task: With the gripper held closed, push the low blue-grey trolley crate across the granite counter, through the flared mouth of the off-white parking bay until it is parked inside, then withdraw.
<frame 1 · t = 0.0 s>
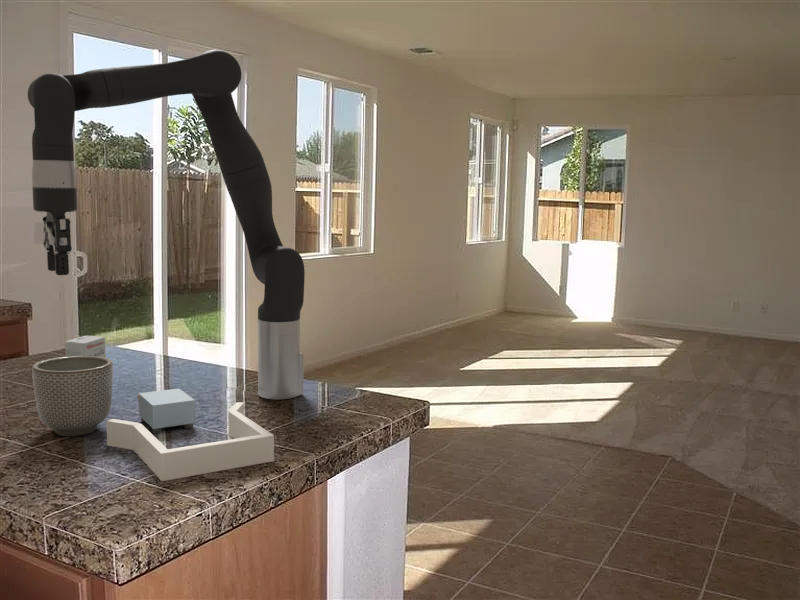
hand: (58, 272, 149), 29 cm above the table, fingers open, 8 cm apart
trolley: (167, 424, 154), on the table
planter: (75, 431, 149), on the table
ink box: (87, 391, 178), on the table
bay: (200, 453, 138), on the table
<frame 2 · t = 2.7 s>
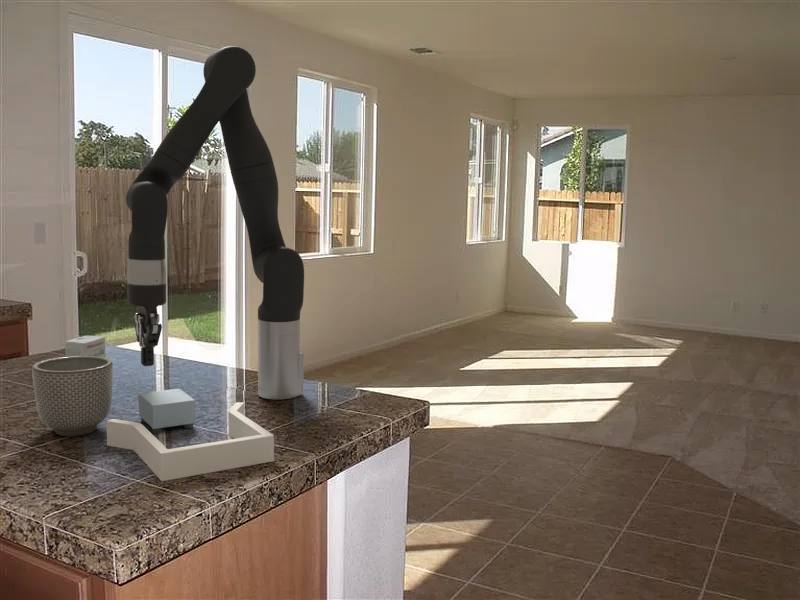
hand: (147, 365, 163), 9 cm above the table, fingers closed
nothing on the table moved.
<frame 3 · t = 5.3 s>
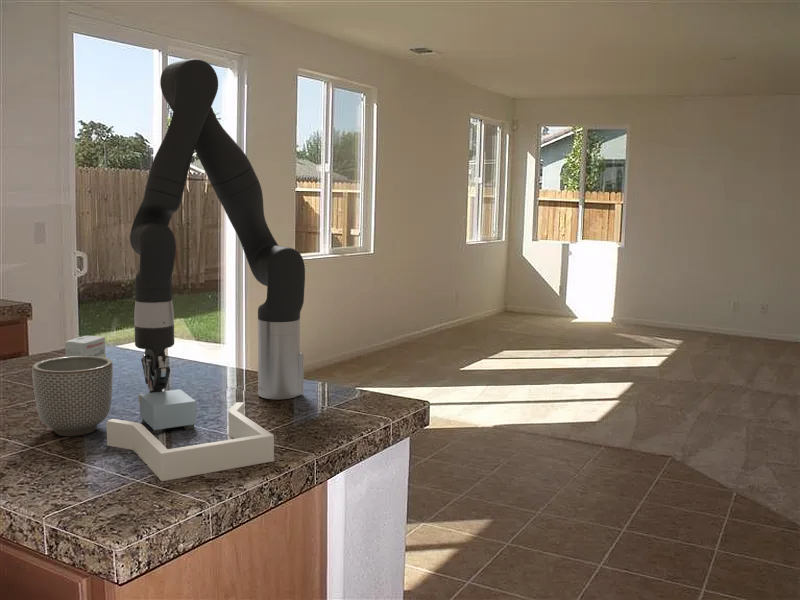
hand: (156, 407, 160), 2 cm above the table, fingers closed
trolley: (168, 425, 154), on the table, touching gripper
everything else where it was.
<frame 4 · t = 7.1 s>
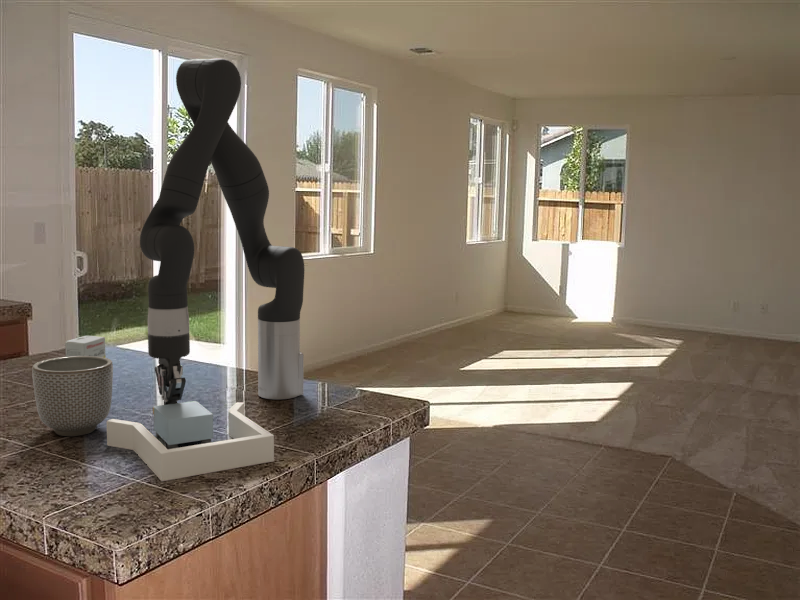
hand: (170, 419, 152), 2 cm above the table, fingers closed
trolley: (183, 439, 145), on the table, touching gripper
everything else where it was.
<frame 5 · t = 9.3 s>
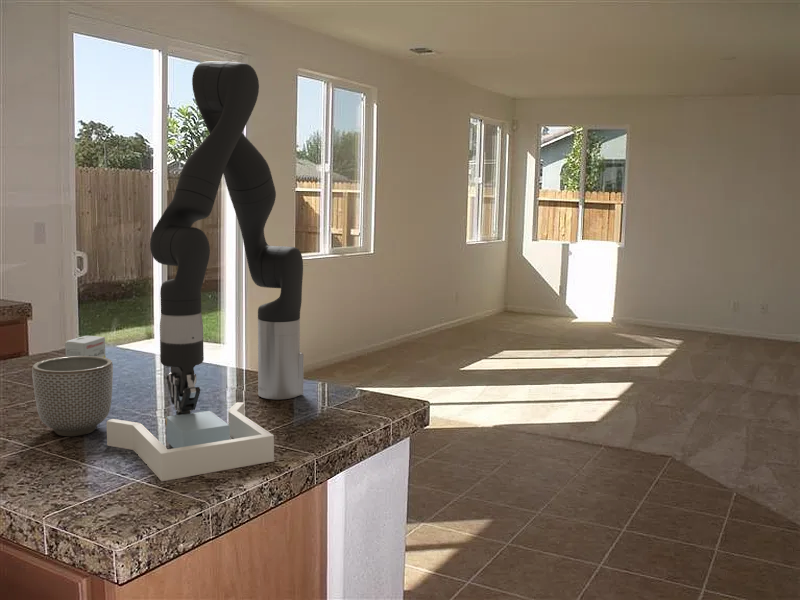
hand: (183, 430, 145), 2 cm above the table, fingers closed
trolley: (197, 451, 139), on the table, touching gripper
everything else where it was.
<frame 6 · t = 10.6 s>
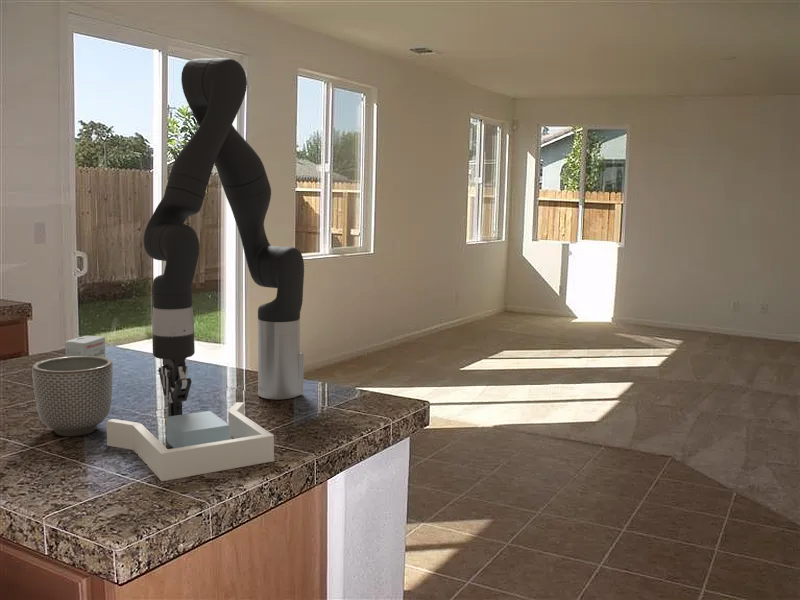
hand: (175, 420, 150), 2 cm above the table, fingers closed
trolley: (197, 451, 139), on the table
everything else where it was.
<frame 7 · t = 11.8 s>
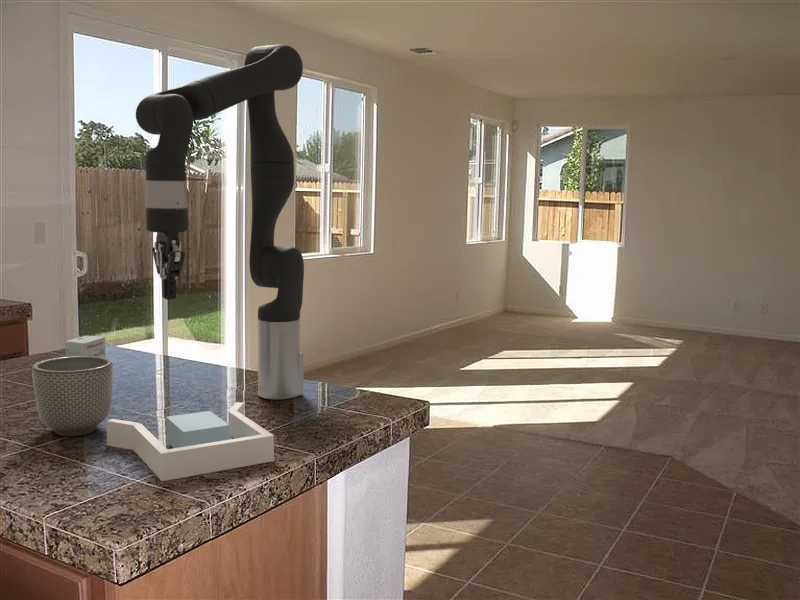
hand: (169, 298, 149), 25 cm above the table, fingers closed
nothing on the table moved.
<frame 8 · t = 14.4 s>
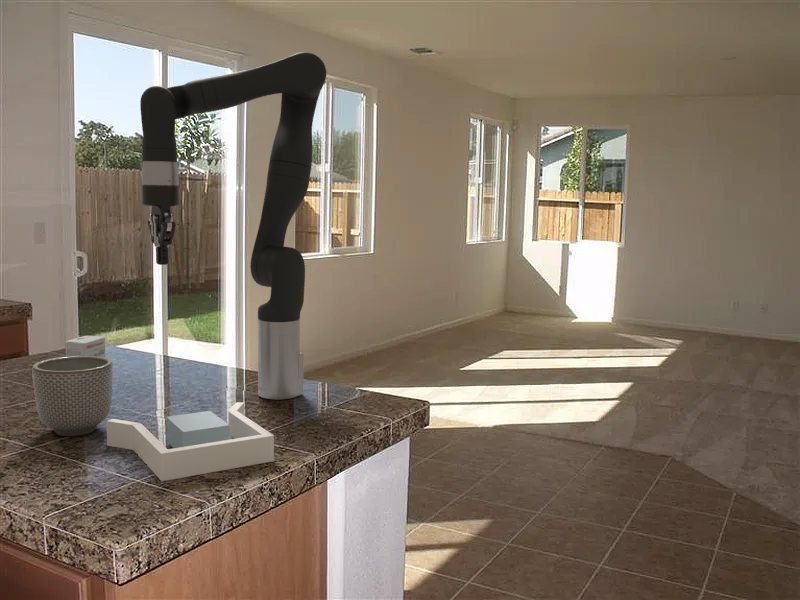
hand: (162, 264, 172), 29 cm above the table, fingers closed
nothing on the table moved.
at the end: trolley inside the target area on the bay (0.6 cm from its centre), point 0.0 cm above the bay's base; trolley tilted 0° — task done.
